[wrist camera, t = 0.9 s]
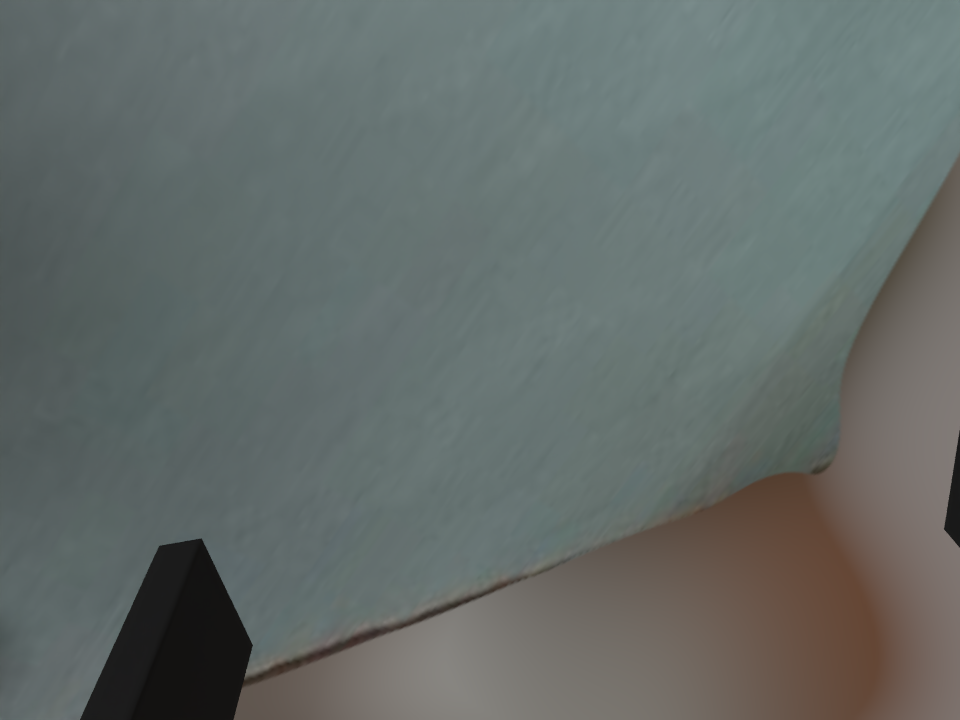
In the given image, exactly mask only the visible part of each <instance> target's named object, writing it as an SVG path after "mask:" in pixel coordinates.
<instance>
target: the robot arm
mask: <svg viewBox="0 0 960 720" xmlns="http://www.w3.org/2000/svg"><path fill="white" fill-rule="evenodd" d="M944 530H945V531H946V532H947V533H948V534H949V535H950V537H951V538H952V539H953V540H954V541H955V543H956V544H957V545H958V546H959V547H960V432H959V438H958V445H957V451H956V457H955V464H954V470H953V476H952V483H951V489H950V495H949V502H948V508H947V515H946V521H945V527H944ZM252 646H253V645H252V643H251V641H250V638H249V636H248V634H247V632H246V630H245V628H244V626H243V624H242V622H241V620H240V618H239V615H238V613H237V611H236V609H235V607H234V605H233V603H232V601H231V599H230V597H229V595H228V593H227V590H226V588H225V586H224V584H223V582H222V580H221V578H220V576H219V574H218V572H217V570H216V567H215V565H214V563H213V561H212V559H211V557H210V555H209V553H208V551H207V549H206V547H205V545H204V542H203V540H202V539H196V540H190V541H185V542H179V543H173V544H167V545H162V546H159V548H158V550H157V552H156V554H155V556H154V558H153V561H152V563H151V565H150V567H149V569H148V572H147V574H146V576H145V578H144V580H143V583H142V585H141V587H140V589H139V591H138V594H137V596H136V598H135V600H134V602H133V605H132V607H131V609H130V611H129V613H128V615H127V618H126V620H125V622H124V624H123V626H122V629H121V631H120V633H119V635H118V637H117V640H116V642H115V644H114V646H113V648H112V651H111V653H110V655H109V657H108V659H107V662H106V664H105V666H104V668H103V670H102V673H101V675H100V677H99V679H98V681H97V683H96V686H95V688H94V690H93V692H92V694H91V697H90V699H89V701H88V703H87V705H86V708H85V710H84V712H83V714H82V716H81V719H80V720H233V719H234V715H235V711H236V707H237V703H238V700H239V696H240V692H241V688H242V685H243V681H244V677H245V673H246V669H247V665H248V662H249V658H250V654H251V650H252Z"/></svg>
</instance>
